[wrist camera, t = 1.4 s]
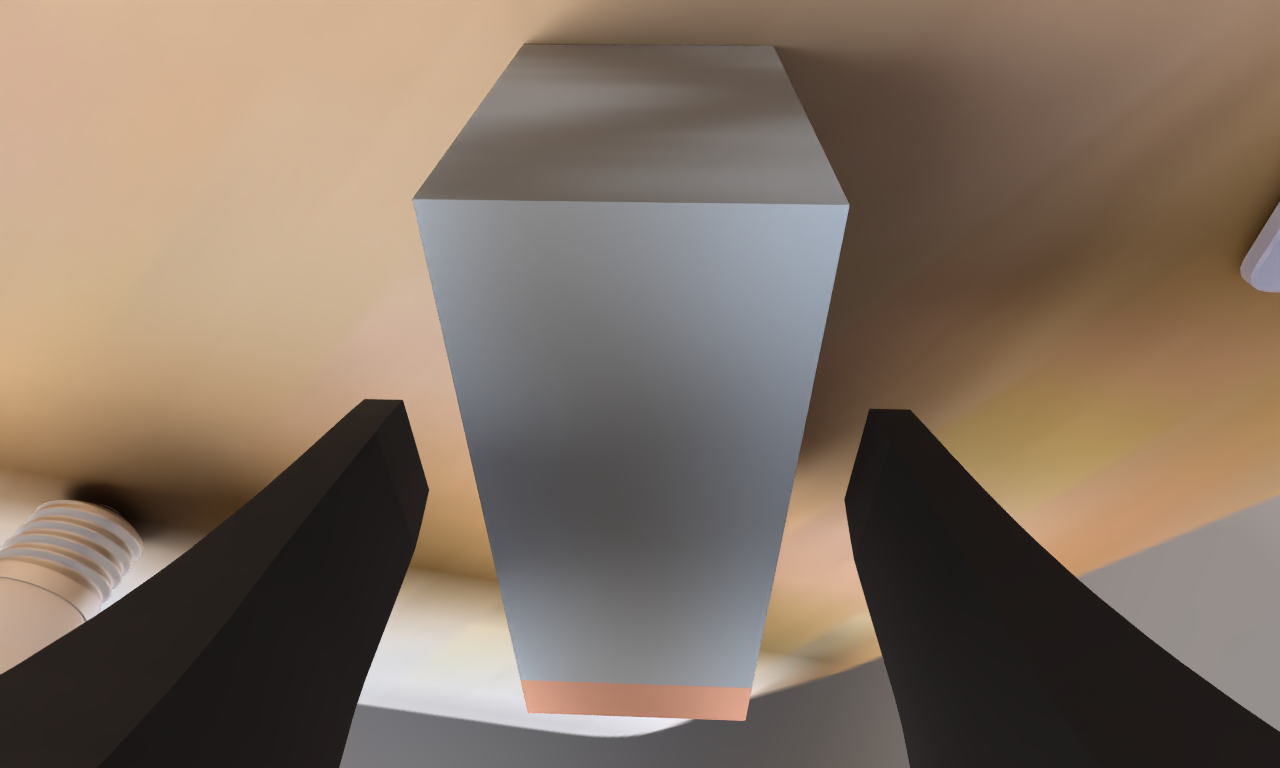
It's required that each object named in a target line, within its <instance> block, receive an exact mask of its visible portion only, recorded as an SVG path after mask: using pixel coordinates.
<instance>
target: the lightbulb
mask: <svg viewBox="0 0 1280 768" xmlns="http://www.w3.org/2000/svg"><path fill="white" fill-rule="evenodd" d="M142 552H143V542H142V540H141V537H140V535H139V534H138V532H137V531H136V530H135V529H134V528H133V527H132V526H131V524H130V523H129V522H128V521H127V520H126V519H125V518H124V517H123V516H122V515H121V514H120V513H119V512H118V511H117V510H115V509H113V508H111V507H109V506H107V505H103V504H98V503H93V502H86V501H77V500H53V501H48V502H45V503H43V504H41V505H40V506H39V507H38V508H37V509H36V511H35V512H33V513H32V514H31V515H30V516H29V517H28V518H27V520H26V523H25V524H23V525H21V526H20V527H18V528H17V529H16V531H15V532H14V535H13V537H11V538H9V539H8V540H6V541H5V542H4V543H3V545H2V546H1V549H0V674H2V673H4V672H6V671H7V670H9V669H11V668H12V667H14V666H16V665H17V664H19V663H21V662H22V661H24V660H26V659H27V658H29V657H30V656H32V655H33V654H35V653H37V652H38V651H40V650H41V649H43V648H45V647H46V646H48V645H49V644H51V643H53V642H54V641H56V640H57V639H59V638H61V637H62V636H64V635H65V634H67V633H69V632H70V631H72V630H73V629H75V628H77V627H78V626H80V625H81V624H83V623H85V622H86V621H88V620H89V619H91V618H92V617H94V616H96V615H97V614H98V613H99V612H100V610H101V603H103V602H105V601H107V600H108V599H109V598H110V596H111V593H112V589H114V588H116V587H117V586H118V585H119V584H120V583H121V580H122V576H123V575H125V574H126V573H128V572H129V571H130V569H131V566H132V563H133V562H135V561H136V560H138V559H139V557H140V556H141V554H142Z"/></svg>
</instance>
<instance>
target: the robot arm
mask: <svg viewBox="0 0 1280 768" xmlns="http://www.w3.org/2000/svg"><path fill="white" fill-rule="evenodd" d="M1240 273H1241V277H1242V278H1243V279H1244V280H1245V281H1246V282H1248V283H1249V284H1250V285H1251V286H1253V287H1254V288H1255V289H1257V290H1259V291H1264V292H1280V202H1279V204H1278V205H1277V207H1276V208H1275V210H1274V212H1273V213H1272V215H1271V216H1270V218H1269V220H1268V221H1267V223H1266V224H1265V226H1264V228H1263V229H1262V231H1261V232H1260V234H1259V236H1258V237H1257V239H1256V240H1255V242H1254V244H1253V245H1252V247H1251V249H1250V250H1249V252H1248V253H1247V255H1246V257H1245V258H1244V260H1243V262H1242V265H1241V267H1240ZM428 492H429V488H428V485H427V481H426V478H425V474H424V471H423V467H422V464H421V461H420V457H419V454H418V450H417V447H416V443H415V440H414V437H413V433H412V430H411V426H410V423H409V419H408V416H407V412H406V409H405V406H404V402H403V400H377V399H364V400H363V401H362V402H361V403H359V404H358V405H357V406H356V407H355V408H354V409H352V410H351V411H350V412H349V413H348V414H347V415H346V416H345V417H343V418H342V419H341V420H340V421H339V422H338V423H337V424H336V425H335V426H334V427H332V428H331V429H330V430H329V431H328V432H327V433H326V434H325V435H324V436H323V437H321V438H320V439H319V440H318V441H317V442H316V443H315V444H314V445H313V446H312V447H310V448H309V449H308V450H307V451H306V452H305V453H304V454H303V455H302V456H300V457H299V458H298V459H297V460H296V461H295V462H294V463H293V464H291V465H290V466H289V467H288V468H287V469H286V470H285V471H283V472H282V473H281V474H280V475H279V476H278V477H277V478H276V479H274V480H273V481H272V482H271V483H270V484H269V485H268V486H267V487H265V488H264V489H263V490H262V491H261V492H260V493H258V494H257V495H256V496H255V497H254V498H252V499H251V500H250V501H249V502H248V503H246V504H245V505H244V506H243V507H241V508H240V509H239V510H238V511H236V512H235V513H234V514H233V515H232V516H230V517H229V518H228V519H227V520H225V521H224V522H223V523H222V524H220V525H219V526H218V527H217V528H216V529H214V530H213V531H212V532H211V533H209V534H208V535H207V536H206V537H204V538H203V539H202V540H201V541H200V542H198V543H197V544H196V545H195V546H193V547H192V548H191V549H189V550H188V551H187V552H185V553H184V554H183V555H181V556H180V557H179V558H177V559H176V560H175V561H173V562H172V563H171V564H169V565H168V566H167V567H165V568H164V569H162V570H161V571H160V572H158V573H157V574H156V575H154V576H153V577H151V578H150V579H148V580H147V581H146V582H144V583H143V584H141V585H140V586H138V587H137V588H136V589H134V590H133V591H131V592H130V593H128V594H127V595H126V596H124V597H123V598H121V599H120V600H118V601H117V602H115V603H114V604H112V605H111V606H109V607H108V608H106V609H105V610H103V611H102V612H100V613H99V614H97V615H96V616H94V617H92V618H91V619H89V620H88V621H86V622H85V623H83V624H81V625H80V626H78V627H77V628H75V629H73V630H72V631H70V632H69V633H67V634H65V635H64V636H62V637H61V638H59V639H57V640H56V641H54V642H53V643H51V644H49V645H48V646H46V647H45V648H43V649H41V650H40V651H38V652H37V653H35V654H33V655H32V656H30V657H29V658H27V659H26V660H24V661H22V662H21V663H19V664H17V665H16V666H14V667H12V668H11V669H9V670H7V671H6V672H4V673H2V674H0V768H339V766H340V762H341V759H342V755H343V751H344V748H345V744H346V740H347V737H348V733H349V730H350V726H351V722H352V718H353V715H354V712H355V708H356V705H357V702H358V700H359V697H360V694H361V691H362V688H363V685H364V682H365V679H366V676H367V674H368V671H369V669H370V666H371V663H372V661H373V658H374V656H375V653H376V650H377V648H378V645H379V643H380V640H381V637H382V635H383V632H384V630H385V627H386V624H387V622H388V619H389V617H390V614H391V611H392V609H393V606H394V604H395V601H396V598H397V596H398V593H399V591H400V588H401V585H402V583H403V580H404V577H405V575H406V572H407V569H408V567H409V564H410V561H411V559H412V556H413V553H414V550H415V547H416V543H417V539H418V535H419V531H420V527H421V524H422V519H423V515H424V510H425V506H426V501H427V497H428ZM844 500H845V506H846V513H847V520H848V526H849V533H850V539H851V544H852V550H853V556H854V561H855V564H856V568H857V571H858V575H859V578H860V582H861V585H862V589H863V592H864V595H865V599H866V602H867V606H868V609H869V612H870V616H871V619H872V623H873V626H874V629H875V633H876V636H877V639H878V643H879V646H880V649H881V653H882V656H883V659H884V663H885V666H886V669H887V673H888V676H889V679H890V683H891V686H892V689H893V693H894V696H895V700H896V704H897V708H898V712H899V716H900V720H901V724H902V728H903V733H904V738H905V743H906V748H907V754H908V758H909V764H910V768H1280V732H1279V731H1278V730H1276V729H1275V728H1273V727H1272V726H1270V725H1269V724H1267V723H1266V722H1264V721H1263V720H1262V719H1260V718H1259V717H1257V716H1256V715H1254V714H1253V713H1251V712H1250V711H1248V710H1247V709H1245V708H1244V707H1242V706H1241V705H1240V704H1238V703H1237V702H1235V701H1234V700H1232V699H1231V698H1230V697H1228V696H1227V695H1225V694H1224V693H1223V692H1221V691H1220V690H1219V689H1217V688H1216V687H1215V686H1213V685H1212V684H1210V683H1209V682H1208V681H1206V680H1205V679H1204V678H1202V677H1201V676H1199V675H1198V674H1197V673H1195V672H1194V671H1192V670H1191V669H1190V668H1188V667H1187V666H1185V665H1184V664H1183V663H1181V662H1180V661H1179V660H1177V659H1176V658H1175V657H1173V656H1172V655H1171V654H1169V653H1168V652H1167V651H1166V650H1164V649H1163V648H1162V647H1160V646H1159V645H1158V644H1156V643H1155V642H1154V641H1152V640H1151V639H1150V638H1149V637H1147V636H1146V635H1145V634H1144V633H1142V632H1141V631H1140V630H1139V629H1137V628H1136V627H1135V626H1134V625H1132V624H1131V623H1130V622H1129V621H1127V620H1126V619H1125V618H1124V617H1123V616H1121V615H1120V614H1119V613H1118V612H1116V611H1115V610H1114V609H1113V608H1111V607H1110V606H1109V605H1108V604H1107V603H1105V602H1104V601H1103V600H1101V599H1100V598H1099V597H1098V596H1097V595H1096V594H1094V593H1093V592H1092V591H1091V590H1090V589H1089V588H1088V587H1086V586H1085V585H1084V584H1083V583H1082V582H1080V581H1079V580H1078V579H1077V578H1076V577H1075V576H1074V575H1073V574H1071V573H1070V572H1069V571H1068V570H1067V569H1066V568H1065V567H1064V566H1063V565H1062V564H1061V563H1060V562H1058V561H1057V560H1056V559H1055V558H1054V557H1053V556H1052V555H1051V554H1050V553H1049V552H1048V551H1046V550H1045V549H1044V548H1043V547H1042V546H1041V545H1040V544H1039V543H1038V542H1037V541H1036V540H1035V539H1033V538H1032V537H1031V536H1030V535H1029V534H1028V533H1027V532H1026V531H1025V530H1024V529H1023V528H1022V527H1021V526H1020V525H1019V524H1018V523H1017V522H1016V521H1015V520H1014V519H1013V518H1012V517H1011V516H1010V515H1009V514H1008V513H1007V512H1006V511H1005V510H1004V509H1003V508H1002V507H1001V506H1000V505H999V504H998V503H997V502H996V501H995V500H994V499H993V498H992V497H991V496H990V495H989V494H988V493H987V492H986V491H985V490H984V489H983V488H982V487H981V486H980V484H979V483H978V482H977V481H976V480H975V479H974V478H973V477H972V476H971V475H970V474H969V473H968V472H967V471H966V470H965V469H964V467H963V466H962V465H961V464H960V463H959V462H958V461H957V460H956V459H955V458H954V457H953V456H952V455H951V454H950V452H949V451H948V450H947V449H946V448H945V447H944V446H943V445H942V444H941V443H940V441H939V440H938V439H937V438H936V437H935V436H934V435H933V434H932V433H931V432H930V431H929V429H928V428H927V427H926V426H925V425H924V424H923V423H922V422H921V421H920V420H919V419H918V418H917V417H916V415H915V414H914V413H913V412H912V411H911V410H901V409H869V413H868V416H867V420H866V424H865V427H864V431H863V434H862V438H861V442H860V445H859V449H858V452H857V456H856V460H855V463H854V467H853V470H852V474H851V478H850V481H849V485H848V489H847V492H846V496H845V499H844Z"/></svg>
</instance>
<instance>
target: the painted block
mask: <svg viewBox="0 0 1280 768" xmlns="http://www.w3.org/2000/svg"><path fill="white" fill-rule="evenodd" d="M412 200H413V205H414V209H415V213H416V218H417V222H418V227H419V231H420V236H421V240H422V245H423V249H424V253H425V258H426V262H427V267H428V271H429V276H430V280H431V285H432V289H433V293H434V298H435V302H436V307H437V311H438V316H439V320H440V324H441V329H442V333H443V338H444V342H445V347H446V351H447V356H448V360H449V364H450V369H451V373H452V378H453V382H454V387H455V391H456V396H457V400H458V404H459V409H460V413H461V418H462V422H463V427H464V431H465V436H466V440H467V444H468V449H469V453H470V458H471V462H472V467H473V471H474V476H475V480H476V484H477V489H478V493H479V498H480V502H481V507H482V511H483V515H484V520H485V524H486V529H487V533H488V538H489V542H490V547H491V551H492V555H493V560H494V564H495V569H496V573H497V578H498V582H499V587H500V591H501V595H502V600H503V604H504V609H505V613H506V618H507V622H508V627H509V631H510V635H511V640H512V644H513V649H514V653H515V658H516V662H517V666H518V671H519V675H520V680H521V684H522V689H523V693H524V698H525V702H526V706H527V711H528V713H550V714H577V715H604V716H632V717H659V718H686V719H714V720H740V721H741V720H743V721H745V719H746V714H747V709H748V704H749V699H750V694H751V690H752V685H753V680H754V675H755V670H756V665H757V660H758V655H759V650H760V645H761V640H762V635H763V630H764V625H765V620H766V615H767V611H768V606H769V601H770V596H771V591H772V586H773V581H774V576H775V571H776V566H777V561H778V556H779V551H780V546H781V541H782V536H783V532H784V527H785V522H786V517H787V512H788V507H789V502H790V497H791V492H792V487H793V482H794V477H795V472H796V467H797V462H798V458H799V453H800V448H801V443H802V438H803V433H804V428H805V423H806V418H807V413H808V408H809V403H810V398H811V393H812V388H813V383H814V379H815V374H816V369H817V364H818V359H819V354H820V349H821V344H822V339H823V334H824V329H825V324H826V319H827V314H828V309H829V305H830V300H831V295H832V290H833V285H834V280H835V275H836V270H837V265H838V260H839V255H840V250H841V245H842V240H843V235H844V230H845V226H846V221H847V216H848V211H849V206H850V205H849V203H848V200H847V198H846V196H845V194H844V192H843V190H842V188H841V186H840V184H839V182H838V180H837V178H836V175H835V173H834V171H833V169H832V167H831V165H830V163H829V161H828V159H827V157H826V155H825V152H824V150H823V148H822V146H821V144H820V142H819V140H818V138H817V136H816V134H815V132H814V130H813V127H812V125H811V123H810V121H809V119H808V117H807V115H806V113H805V111H804V109H803V107H802V104H801V102H800V100H799V98H798V96H797V94H796V92H795V90H794V88H793V86H792V84H791V81H790V79H789V77H788V75H787V73H786V71H785V69H784V67H783V65H782V63H781V61H780V59H779V56H778V54H777V52H776V50H775V48H774V46H747V45H577V44H523V46H522V47H521V48H520V50H519V51H518V53H517V54H516V55H515V57H514V58H513V60H512V61H511V62H510V64H509V65H508V67H507V68H506V69H505V71H504V72H503V74H502V75H501V76H500V78H499V79H498V81H497V82H496V83H495V85H494V86H493V88H492V89H491V90H490V92H489V93H488V94H487V96H486V97H485V99H484V100H483V101H482V103H481V104H480V106H479V107H478V108H477V110H476V111H475V113H474V114H473V115H472V117H471V118H470V120H469V121H468V122H467V124H466V125H465V127H464V128H463V129H462V131H461V132H460V133H459V135H458V136H457V138H456V139H455V140H454V142H453V143H452V145H451V146H450V147H449V149H448V150H447V152H446V153H445V154H444V156H443V157H442V159H441V160H440V161H439V163H438V164H437V166H436V167H435V168H434V170H433V171H432V173H431V174H430V175H429V177H428V178H427V179H426V181H425V182H424V184H423V185H422V186H421V188H420V189H419V191H418V192H417V193H416V195H415V196H414V198H413V199H412Z"/></svg>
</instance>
